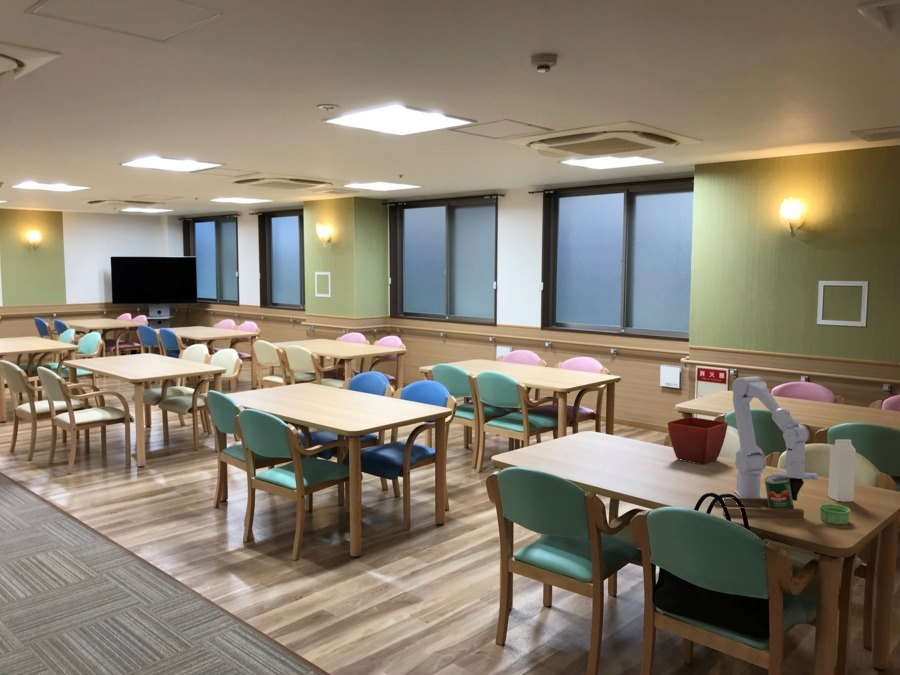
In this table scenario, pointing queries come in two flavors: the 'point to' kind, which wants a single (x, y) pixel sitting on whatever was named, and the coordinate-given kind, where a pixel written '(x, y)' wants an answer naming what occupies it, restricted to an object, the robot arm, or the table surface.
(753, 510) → the beam channel
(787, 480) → the canned tomato
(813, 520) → the table surface
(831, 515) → the ramekin
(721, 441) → the plant pot
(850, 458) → the milk
